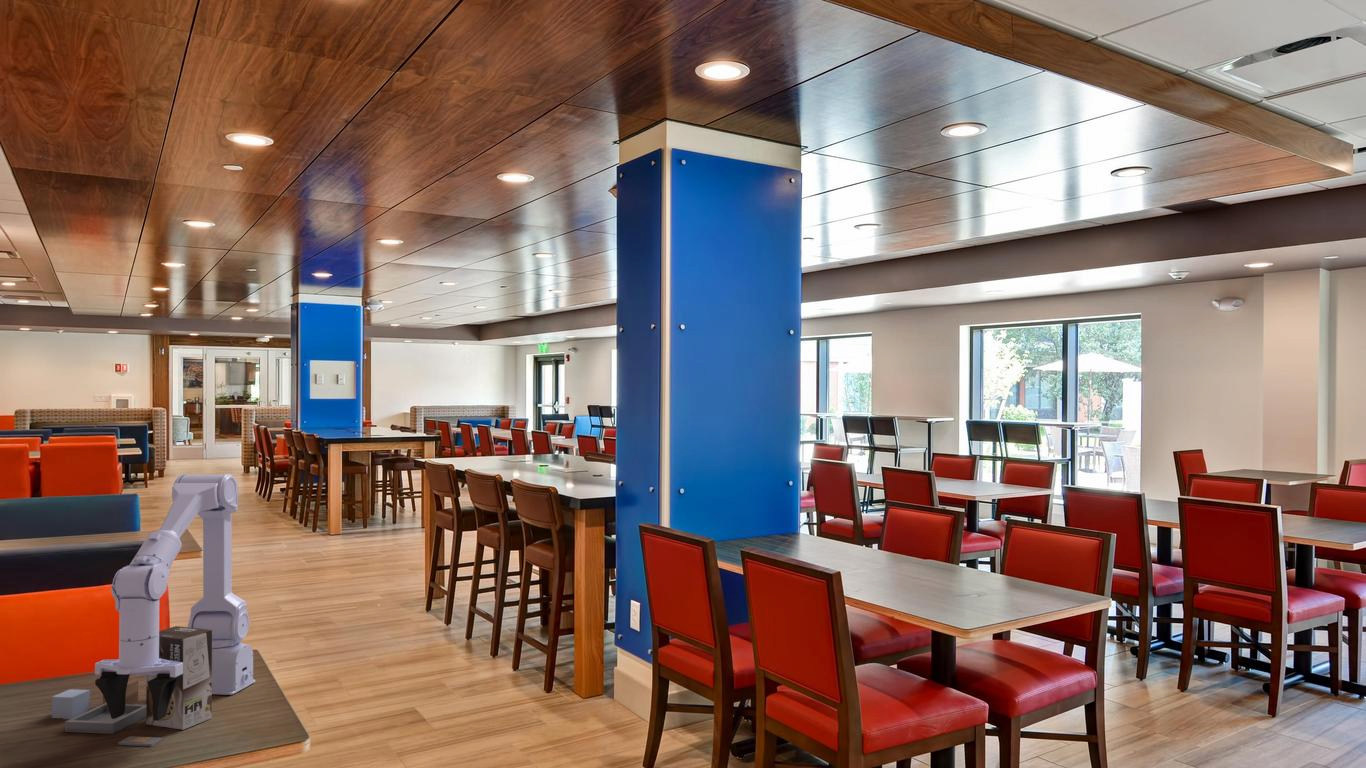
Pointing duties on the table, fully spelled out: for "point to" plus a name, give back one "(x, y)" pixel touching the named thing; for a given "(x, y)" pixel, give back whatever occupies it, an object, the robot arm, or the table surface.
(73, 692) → the slate block
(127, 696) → the walnut block
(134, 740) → the label tile
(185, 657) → the coffee box
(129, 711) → the parts tray
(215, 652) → the robot arm
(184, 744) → the table surface
